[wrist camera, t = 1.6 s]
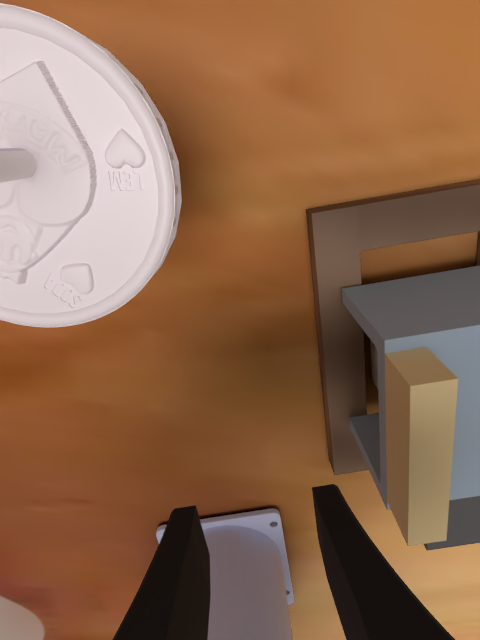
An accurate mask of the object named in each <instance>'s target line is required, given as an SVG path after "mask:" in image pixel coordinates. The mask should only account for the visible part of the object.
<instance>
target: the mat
mask: <svg viewBox="0 0 480 640" xmlns="http://www.w3.org/2000/svg"><path fill="white" fill-rule="evenodd" d="M474 543H480V496H475V497H468V498H461V499H455V500H449V512H448V526H447V539H446V541H440V542H433V543H426V544H424V545H425V547H426V549H427V550H433V549H440V548H447V547H453V546H460V545H467V544H474Z"/></svg>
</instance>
